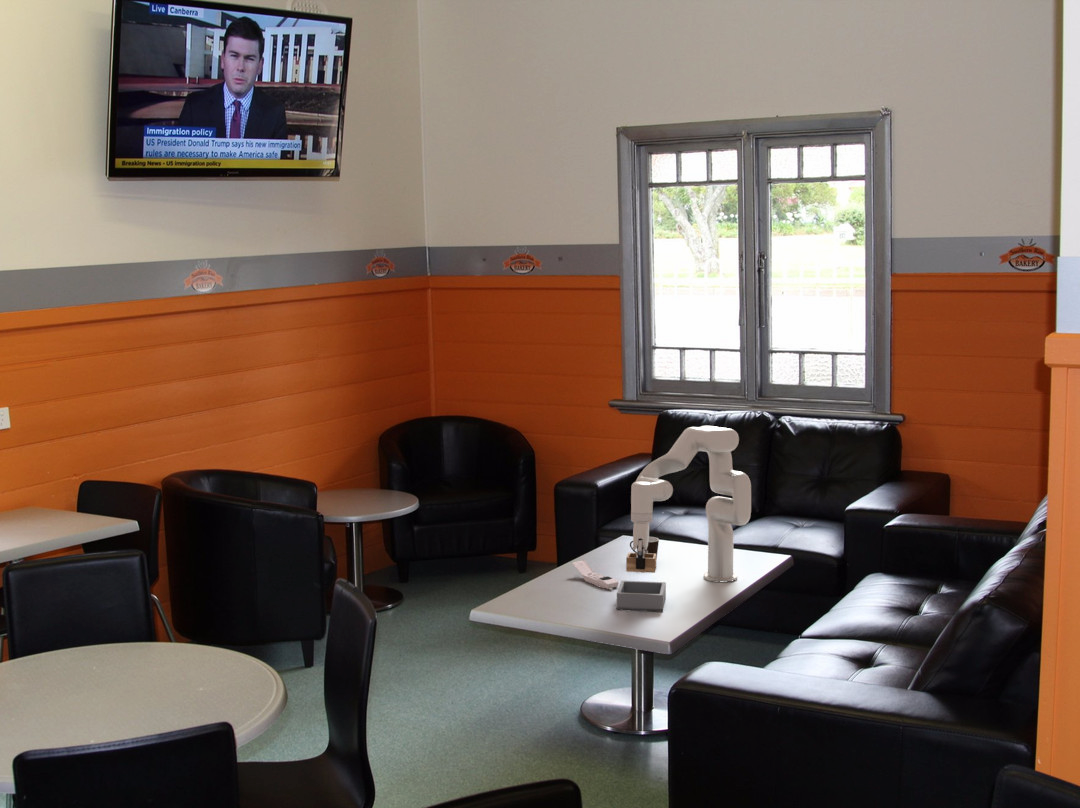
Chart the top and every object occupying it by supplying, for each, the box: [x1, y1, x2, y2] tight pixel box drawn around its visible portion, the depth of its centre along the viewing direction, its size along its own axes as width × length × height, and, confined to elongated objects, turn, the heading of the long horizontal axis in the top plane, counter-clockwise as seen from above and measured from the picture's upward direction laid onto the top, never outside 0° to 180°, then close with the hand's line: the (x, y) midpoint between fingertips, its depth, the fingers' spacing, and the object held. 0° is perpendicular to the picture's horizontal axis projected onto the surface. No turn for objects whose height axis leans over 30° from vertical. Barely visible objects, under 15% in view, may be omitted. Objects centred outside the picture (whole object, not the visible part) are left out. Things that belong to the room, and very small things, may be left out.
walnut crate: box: [625, 552, 657, 574], centre depth 404 cm, size 7×10×5 cm
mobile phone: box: [572, 559, 619, 591], centre depth 433 cm, size 6×6×25 cm
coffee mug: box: [629, 536, 660, 561], centre depth 460 cm, size 12×9×10 cm
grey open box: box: [616, 580, 667, 613], centre depth 406 cm, size 16×16×6 cm
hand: (641, 565), depth 404 cm, fingers closed on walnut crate, 7 cm apart
